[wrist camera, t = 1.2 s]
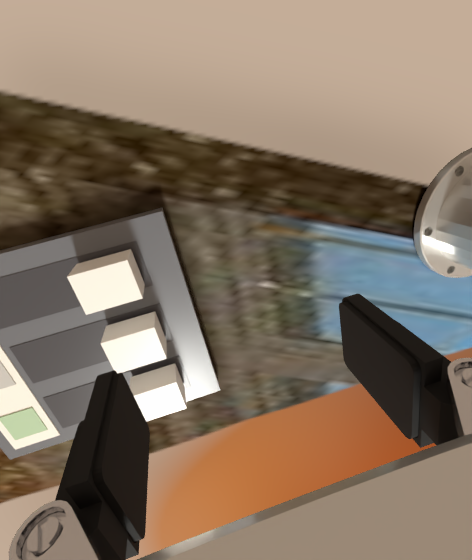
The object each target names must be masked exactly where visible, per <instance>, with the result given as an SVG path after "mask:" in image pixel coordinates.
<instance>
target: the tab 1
mask: <svg viewBox="0 0 472 560" xmlns="http://www.w3.org/2000/svg"><path fill="white" fill-rule="evenodd" d="M67 278H68V280H69V282H70V284H71V286H72V288H73V290H74V292H75V294H76V296H77V298H78V300H79V302H80V304H81V306H82V308H83V310H84V312H85V314H86V315H88V314H91V313H95V312H98V311H102V310H105V309H108V308H112V307H115V306H119V305H122V304H126V303H129V302H132V301H136V300H139V299H143V293H144V286H145V284H144V281H143V279H142V276H141V274H140V271H139V268H138V266H137V263H136V261H135V258H134V255H133V253H132V250H131V249H129V250H126V251H122V252H118V253H115V254H111V255H107V256H104V257H100V258H96V259H93V260H89V261H85V262H82V263H78V264H76V265H75V267H74V268H73V269H72V271H71V272H70V273H69V275H68V276H67Z"/></svg>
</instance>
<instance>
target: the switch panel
mask: <svg viewBox="0 0 472 560" xmlns="http://www.w3.org/2000/svg"><path fill="white" fill-rule="evenodd" d="M129 249H131V250H132V253H133V255H134V258H135V261H136V263H137V266H138V268H139V271H140V274H141V276H142V279H143V281H144V284H145V286H144V293H143V299H139V300H136V301H132V302H129V303H126V304H122V305H119V306H115V307H112V308H108V309H105V310H102V311H98V312H95V313H91V314H88V315H86V314H85V312H84V310H83V308H82V306H81V304H80V302H79V300H78V298H77V296H76V294H75V292H74V290H73V288H72V286H71V284H70V282H69V280H68V278H67V276H68V275H69V273H70V272H71V271H72V269H73V268H74V267H75V265H76V264H78V263H82V262H85V261H89V260H93V259H96V258H100V257H104V256H107V255H111V254H115V253H118V252H122V251H126V250H129ZM151 312H156V315H157V317H158V320H159V323H160V325H161V328H162V330H163V333H164V336H165V338H166V341H167V359H164V360H161V361H157V362H154V363H151V364H148V365H145V366H141V367H138V368H135V369H132V370H129V371H125V372H122V374H123V375H124V377H125V379H126V381H127V383H128V385H129V386H130V379H131V377H133V376H136V375H139V374H142V373H146V372H149V371H152V370H155V369H158V368H161V367H165V366H168V365H171V364H174V363H175V364H176V366H177V369H178V372H179V374H180V377H181V379H182V382H183V385H184V387H185V396H186V402H187V401H190V400H193V399H196V398H199V397H202V396H205V395H208V394H211V393H214V392H217V391H220V387H219V383H218V379H217V376H216V373H215V370H214V367H213V364H212V360H211V357H210V354H209V351H208V348H207V345H206V342H205V339H204V336H203V332H202V329H201V326H200V323H199V320H198V317H197V314H196V311H195V308H194V304H193V301H192V298H191V295H190V292H189V289H188V286H187V283H186V280H185V276H184V273H183V270H182V267H181V264H180V261H179V258H178V255H177V252H176V249H175V245H174V242H173V239H172V236H171V233H170V230H169V227H168V224H167V221H166V217H165V214H164V211H163V208H159V209H155V210H151V211H147V212H144V213H140V214H136V215H132V216H128V217H125V218H121V219H117V220H113V221H109V222H106V223H102V224H98V225H94V226H90V227H87V228H83V229H79V230H75V231H71V232H68V233H64V234H60V235H56V236H52V237H49V238H45V239H41V240H37V241H33V242H30V243H26V244H22V245H18V246H15V247H11V248H7V249H3V250H0V448H1V449H2V450H3V452H4V453H5V454H6V455H7V456H8V458H9V459H13V458H16V457H19V456H22V455H25V454H29V453H32V452H35V451H38V450H41V449H44V448H47V447H50V446H53V445H56V444H59V443H62V442H65V441H68V440H71V439H74V437H75V434H76V430H77V427H78V425H79V423H80V422H81V421H83V420H84V419H85V416H86V412H87V409H88V405H89V402H90V398H91V395H92V391H93V388H94V384H95V381H96V378H97V376H98V375H101V374H104V373H107V372H110V371H113V368H112V366H111V364H110V362H109V360H108V358H107V356H106V354H105V352H104V350H103V348H102V346H101V344H100V343H101V340H102V337H103V334H104V331H105V328H106V326H107V325H111V324H114V323H117V322H121V321H124V320H128V319H131V318H134V317H138V316H141V315H144V314H148V313H151Z"/></svg>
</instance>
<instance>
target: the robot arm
mask: <svg viewBox="0 0 472 560" xmlns="http://www.w3.org/2000/svg"><path fill="white" fill-rule="evenodd" d="M414 242H415V248H416V250H417V253H418V256H419V257H420V259H421V261H422V262H423V263H424V264H425V265H426V266H427V267H428V268H429V269H431V270H432V271H434V272H436V273H438V274H440V275H443V276H446V277H452V278H461V277H468V276H471V275H472V148H471V149H469V150H467V151H465V152H463V153H461V154H460V155H458V156H457V157H455V158H454V159H453V160H451V161H450V162H449V163H448V164H447V165H446V166H445V167H444V168H443V169H442V170H441V171H440V172H439V173H438V174H437V176H436V177H435V178H434V179H433V181H432V182H431V183H430V185H429V187H428V188H427V190H426V192H425V194H424V195H423V197H422V200H421V202H420V205H419V207H418V210H417V214H416V218H415V223H414ZM339 311H340V323H341V334H342V345H343V356H344V361H345V364H346V366H347V367H348V368H349V370H350V371H351V372H352V373H353V374H354V376H355V377H356V378H357V379H358V380H359V382H360V383H361V384H362V385H363V386H364V387H365V389H366V390H367V391H368V392H369V394H370V395H371V396H372V397H373V398H374V399H375V401H376V402H377V403H378V404H379V405H380V407H381V408H382V409H383V410H384V411H385V413H386V414H387V415H388V416H389V417H390V419H391V420H392V421H393V422H394V423H395V425H396V426H397V427H398V428H399V429H400V430H401V432H402V433H403V434H404V435H405V436H406V437H407V438H408V439H411V438H413V439H414V440H415V442H416V443H417V444H418V445H419V447H424V446H426V445H429V444H432V443H435V444H436V445H437V446H434V447H431V448H428V449H425V450H422V451H420V452H417V453H414V454H412V455H409V456H406V457H404V458H401V459H398V460H395V461H393V462H390V463H387V464H385V465H382V466H379V467H377V468H374V469H372V470H369V471H366V472H363V473H361V474H358V475H355V476H353V477H350V478H347V479H345V480H342V481H340V482H337V483H334V484H332V485H329V486H326V487H323V488H321V489H318V490H316V491H313V492H310V493H308V494H305V495H302V496H300V497H297V498H294V499H292V500H289V501H287V502H284V503H281V504H279V505H276V506H274V507H271V508H268V509H265V510H263V511H260V512H258V513H255V514H252V515H250V516H247V517H245V518H242V519H239V520H237V521H234V522H232V523H229V524H226V525H224V526H221V527H219V528H216V529H213V530H211V531H208V532H206V533H203V534H200V535H198V536H195V537H193V538H190V539H187V540H185V541H182V542H180V543H177V544H174V545H172V546H170V547H167V548H164V549H162V550H160V551H157V552H155V553H152V554H150V555H147V556H145V557H143V558H140V559H137V560H472V358H461V359H458V360H455V361H453V362H451V361H449V360H448V359H446V358H445V357H444V356H442V355H441V354H440V353H438V352H437V351H436V350H434V349H433V348H432V347H430V346H429V345H428V344H426V343H425V342H424V341H422V340H421V339H420V338H418V337H417V336H416V335H414V334H413V333H412V332H410V331H409V330H408V329H406V328H405V327H404V326H402V325H401V324H400V323H398V322H397V321H395V320H393V319H392V318H391V317H389V316H388V315H387V314H385V313H384V312H383V311H381V310H380V309H379V308H377V307H376V306H375V305H373V304H372V303H371V302H369V301H368V300H367V299H365V298H364V297H363V296H361V295H360V294H355V295H352V296H348V297H345V298H343V300H342V303H340V304H339ZM149 437H150V433H149V427H148V424H147V422H146V420H145V418H144V416H143V414H142V412H141V410H140V408H139V406H138V404H137V402H136V400H135V398H134V395H133V393H132V391H131V389H130V387H129V385H128V383H127V381H126V379H125V377H124V375H123V374H122V373H118V374H117V372H116V371H114V370H113V371H110V372H107V373H104V374H101V375H98V376H97V378H96V381H95V384H94V388H93V391H92V395H91V398H90V402H89V405H88V409H87V412H86V416H85V419H84V420H83V421H81V422H80V423H79V425H78V427H77V430H76V434H75V437H74V440H73V444H72V447H71V450H70V454H69V457H68V460H67V463H66V467H65V470H64V473H63V477H62V480H61V483H60V486H59V490H58V493H57V496H56V500H55V501H52V502H50V503H47V504H45V505H43V506H42V507H40V508H39V509H37V510H36V511H35V512H33V513H32V514H31V515H30V516H29V517H28V518H27V519H26V520H25V521H24V523H23V524H22V526H21V527H20V528H19V529H18V531H17V533H16V534H15V536H14V538H13V540H12V543H11V546H10V549H9V560H125V559H128V558H130V557H133V556H136V555H138V553H139V540H141V539H143V538H144V536H145V523H146V503H147V502H146V501H147V480H148V459H149Z"/></svg>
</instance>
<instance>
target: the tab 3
mask: <svg viewBox="0 0 472 560" xmlns="http://www.w3.org/2000/svg"><path fill="white" fill-rule="evenodd" d="M129 387H130V389H131V391H132V393H133V395H134V398H135V400H136V402H137V404H138V406H139V408H140V410H141V412H142V414H143V416H144V418H145V420H146V421H149V420H152V419H155V418H158V417H161V416H164V415H167V414H171V413H174V412H177V411H180V410H183V409H186V396H185V387H184V385H183V382H182V379H181V377H180V374H179V372H178V369H177V366H176V364H175V363H174V364H171V365H168V366H165V367H161V368H158V369H155V370H152V371H149V372H146V373H142V374H139V375H136V376H133V377H131V379H130V386H129Z"/></svg>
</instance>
